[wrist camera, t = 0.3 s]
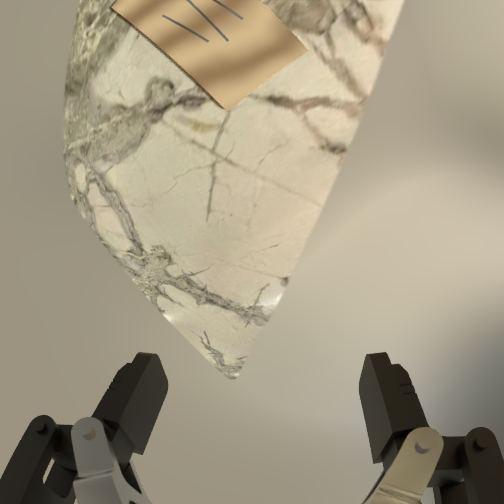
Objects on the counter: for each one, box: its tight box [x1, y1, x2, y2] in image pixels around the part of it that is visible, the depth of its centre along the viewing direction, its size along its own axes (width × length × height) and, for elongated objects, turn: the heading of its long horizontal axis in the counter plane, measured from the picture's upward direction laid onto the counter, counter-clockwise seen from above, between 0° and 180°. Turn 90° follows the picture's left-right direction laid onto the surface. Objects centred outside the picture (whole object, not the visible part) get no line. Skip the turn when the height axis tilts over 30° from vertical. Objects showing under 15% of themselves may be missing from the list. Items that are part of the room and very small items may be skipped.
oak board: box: [111, 0, 308, 112], centre depth 23 cm, size 22×12×1 cm, turn 41°
